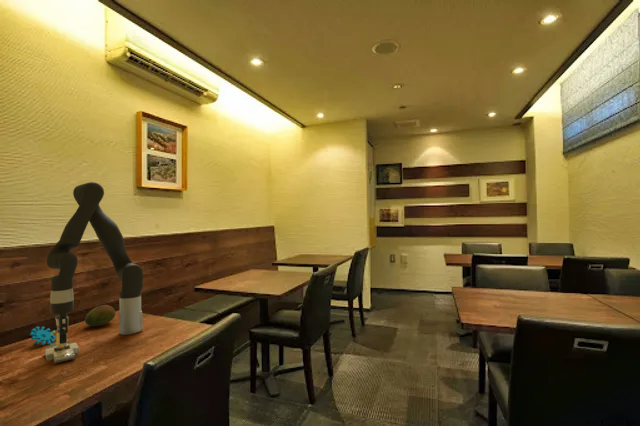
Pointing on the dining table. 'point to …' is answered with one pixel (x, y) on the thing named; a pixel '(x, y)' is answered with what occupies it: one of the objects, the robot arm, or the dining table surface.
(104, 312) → the fruit
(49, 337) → the gear
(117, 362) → the dining table surface
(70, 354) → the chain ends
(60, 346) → the pin
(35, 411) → the dining table surface
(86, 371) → the dining table surface
